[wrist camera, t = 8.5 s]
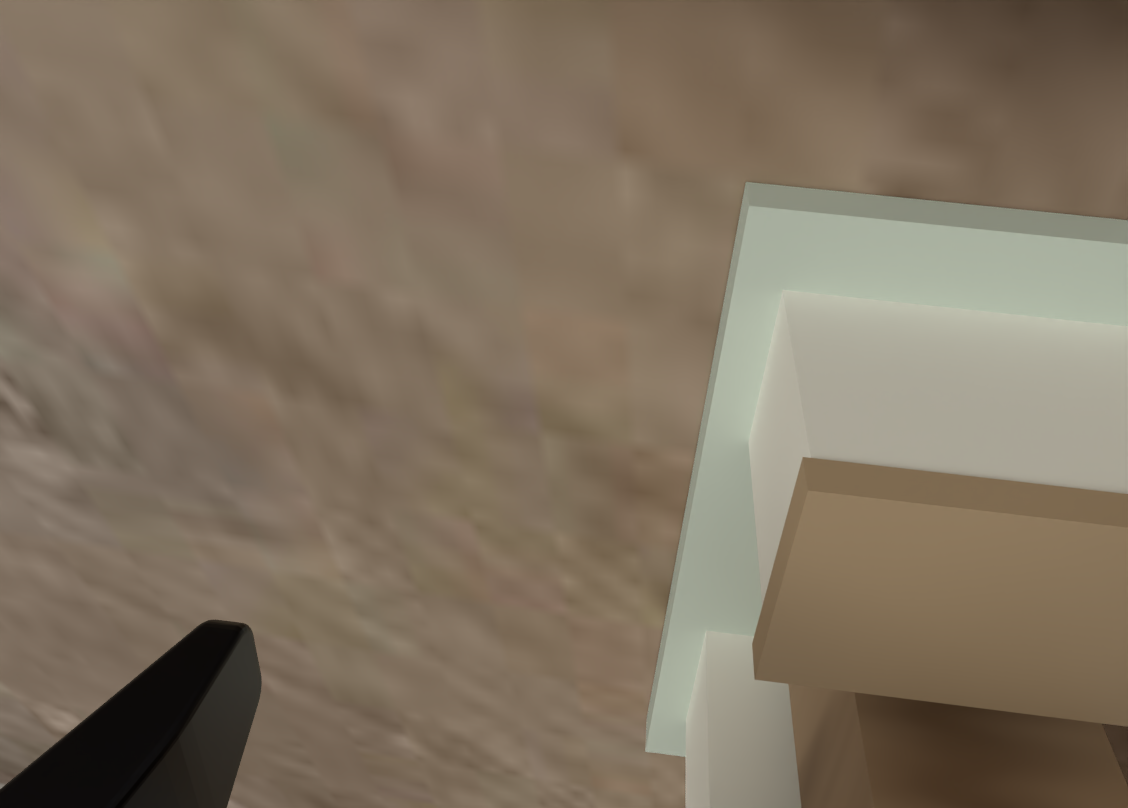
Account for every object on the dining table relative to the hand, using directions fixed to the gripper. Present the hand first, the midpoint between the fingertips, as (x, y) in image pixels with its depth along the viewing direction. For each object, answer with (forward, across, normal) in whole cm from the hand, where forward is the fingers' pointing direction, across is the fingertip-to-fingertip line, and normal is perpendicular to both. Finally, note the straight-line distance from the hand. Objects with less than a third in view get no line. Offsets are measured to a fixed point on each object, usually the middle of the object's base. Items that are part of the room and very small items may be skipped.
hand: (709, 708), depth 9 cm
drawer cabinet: (+13, -6, +9) cm, 17 cm away
